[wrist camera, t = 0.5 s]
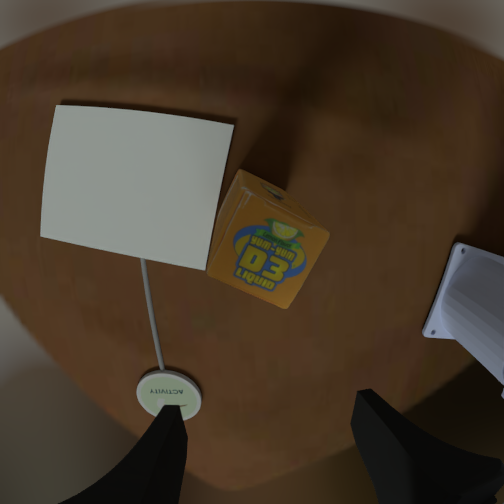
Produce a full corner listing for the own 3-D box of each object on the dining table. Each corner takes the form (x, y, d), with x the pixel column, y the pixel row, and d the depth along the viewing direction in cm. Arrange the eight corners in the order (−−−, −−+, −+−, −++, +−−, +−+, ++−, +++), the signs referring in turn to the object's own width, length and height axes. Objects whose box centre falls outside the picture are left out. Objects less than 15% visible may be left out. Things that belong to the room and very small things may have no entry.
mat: (233, 126, 18) (234, 125, 18) (205, 268, 20) (204, 270, 20) (59, 105, 17) (56, 105, 16) (43, 234, 19) (40, 236, 19)
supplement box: (213, 218, 20) (195, 274, 10) (239, 167, 19) (245, 173, 9) (262, 241, 20) (289, 315, 10) (287, 192, 19) (341, 223, 10)
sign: (179, 242, 20) (204, 421, 23) (181, 239, 20) (205, 414, 24) (103, 247, 19) (144, 419, 23) (108, 244, 20) (146, 413, 24)
